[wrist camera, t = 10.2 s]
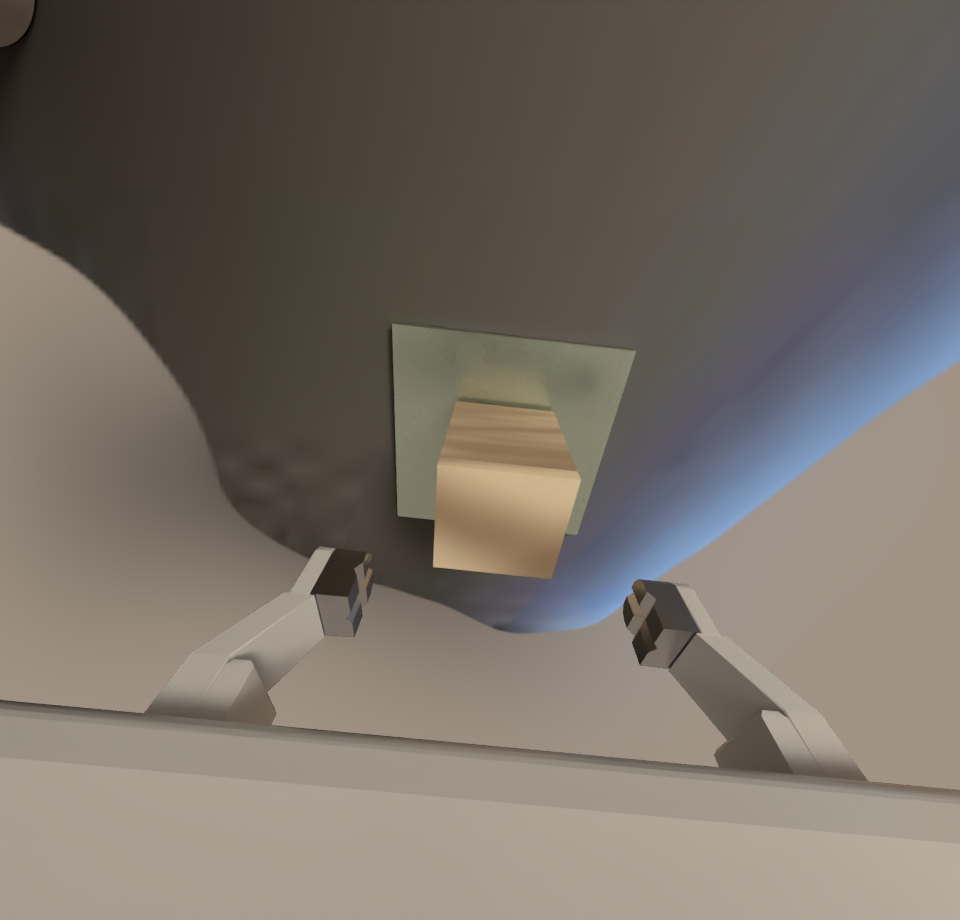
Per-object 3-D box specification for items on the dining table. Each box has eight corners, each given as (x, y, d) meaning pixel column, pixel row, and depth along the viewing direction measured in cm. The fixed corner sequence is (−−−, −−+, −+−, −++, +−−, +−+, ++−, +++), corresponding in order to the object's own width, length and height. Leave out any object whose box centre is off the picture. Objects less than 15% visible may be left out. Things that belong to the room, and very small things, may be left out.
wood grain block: (456, 401, 18) (437, 465, 12) (553, 411, 18) (581, 480, 12) (450, 482, 20) (433, 566, 15) (536, 491, 20) (551, 579, 15)
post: (395, 322, 17) (338, 353, 11) (631, 348, 17) (706, 394, 11) (399, 510, 23) (365, 598, 17) (575, 528, 23) (603, 622, 17)
